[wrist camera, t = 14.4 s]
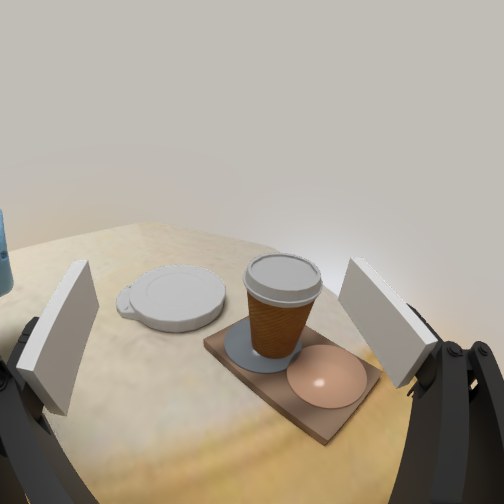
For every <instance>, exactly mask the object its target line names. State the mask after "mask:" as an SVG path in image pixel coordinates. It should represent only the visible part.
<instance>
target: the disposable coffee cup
mask: <svg viewBox="0 0 504 504" xmlns="http://www.w3.org/2000/svg"><path fill="white" fill-rule="evenodd" d="M243 282H244V285H245V286H246V289H247V296H248V307H249V318H250V319H249V320H250V331H251V343H252V347H253V348H254V350H255V351H256V352H257V353H258V354H260V355H262V356H264V357H267V358H271V359H280V358H284V357H287V356H289V355H290V354H292V352H293V351H294V350H295V347H296V345H297V343H298V340H299V338H300V336H301V333H302V331H303V329H304V326H305V324H306V321H307V319H308V316H309V314H310V311H311V309H312V306H313V304H314V301H315V299H316V298H317V296H318V295H319V294H320V293H321V291H322V288H323V282H322V280H321V273H320V270H319V269H318V267H317V266H316V265H315V264H313V263H312V262H310V261H309V260H307V259H305V258H302V257H299V256H296V255H292V254H285V253H270V254H264V255H260V256H258V257H256V258H254V259H253V260H251V261H250V263H249V265H248V267H247V269H246V270H245V272H244V274H243Z"/></svg>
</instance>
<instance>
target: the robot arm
mask: <svg viewBox="0 0 504 504" xmlns="http://www.w3.org/2000/svg"><path fill="white" fill-rule="evenodd" d="M13 284H14V281H13V276H12V271H11V267H10V262H9V256H8V251H7V245H6V239H5V233H4V224H3V215H2V210H1V209H0V297H1V296H3V295H5V294H7V293H9V292H10V291H11V290H12V288H13ZM338 301H339V302H340V304H341V305H342V306H343V308H344V309H345V311H346V312H347V314H348V315H349V317H350V318H351V320H352V321H353V323H354V324H355V326H356V327H357V329H358V330H359V332H360V333H361V335H362V336H363V338H364V339H365V341H366V342H367V344H368V345H369V347H370V348H371V350H372V351H373V353H374V355H375V356H376V358H377V359H378V361H379V362H380V364H381V365H382V367H383V369H384V370H385V372H386V373H387V375H388V377H389V378H390V380H391V381H392V383H393V385H394V386H395V388H396V389H397V388H400V387H402V386H405V385H408V384H409V383H410V381H411V380H412V379H413V377H414V376H416V378H417V379H418V380H417V382H416V383H415V384H414V385H413V387H412V388H411V389H410V391H409V392H408V394H407V396H409V395H410V394H411V393H412V392H413V391H414V394H413V396H412V398H413V402H412V409H411V415H410V421H409V427H408V432H407V437H406V442H405V447H404V451H403V455H402V459H401V463H400V467H399V471H398V474H397V478H396V481H395V484H394V487H393V491H392V494H391V497H390V500H389V502H388V504H504V380H503V377H502V374H501V372H500V369H499V367H498V364H497V362H496V360H495V357H494V355H493V353H492V351H491V349H490V347H489V346H488V345H487V344H485V343H483V342H481V341H476V342H475V343H474V344H473V346H472V347H471V349H469V350H463V349H462V348H461V347H460V346H459V345H458V344H456V343H454V342H451V341H446V342H444V341H443V340H442V339H441V338H440V337H439V336H438V334H437V333H436V332H435V331H434V330H433V329H432V327H431V326H430V325H429V324H428V323H426V321H425V319H424V318H423V317H421V315H420V314H419V313H418V312H417V311H416V309H414V308H413V307H411V306H410V305H408V304H407V303H405V302H404V301H403V300H402V299H401V298H400V297H399V296H398V295H397V293H396V292H395V291H394V290H393V289H392V288H391V287H390V286H389V285H388V284H387V283H386V282H385V281H384V280H383V279H382V277H381V276H380V275H379V274H378V273H377V272H376V271H375V270H374V269H373V268H372V267H371V266H370V265H369V264H368V263H367V262H366V261H365V260H364V259H363V258H362V257H361V258H350V261H349V264H348V268H347V271H346V275H345V278H344V281H343V285H342V288H341V291H340V294H339V297H338ZM98 309H99V303H98V300H97V296H96V292H95V288H94V284H93V280H92V276H91V272H90V267H89V263H88V260H74V262H73V263H72V265H71V266H70V268H69V269H68V271H67V273H66V274H65V276H64V277H63V279H62V280H61V282H60V284H59V285H58V287H57V288H56V290H55V292H54V293H53V295H52V297H51V298H50V300H49V302H48V304H47V305H46V307H45V309H44V311H43V313H42V314H41V316H40V317H34V318H33V319H32V320H31V321H30V322H28V323H27V324H26V326H25V328H24V330H23V332H22V335H21V336H20V338H19V340H18V343H17V344H16V346H15V348H14V350H13V352H12V354H11V356H10V358H9V360H8V363H7V365H6V364H5V363H4V361H3V360H2V358H1V357H0V504H28V502H27V499H26V496H27V497H28V499H29V501H30V503H31V504H99V503H98V501H97V500H96V499H95V497H94V496H93V495H92V493H91V492H90V491H89V489H88V488H87V487H86V485H85V484H84V482H83V481H82V480H81V478H80V477H79V475H78V474H77V472H76V471H75V469H74V468H73V466H72V464H71V463H70V461H69V460H68V458H67V456H66V455H65V453H64V451H63V449H62V448H61V446H60V444H59V442H58V441H57V439H56V437H55V435H54V433H53V431H52V429H51V427H50V425H49V423H48V421H47V419H46V417H45V415H44V414H43V413H42V410H43V406H45V407H46V408H47V409H48V410H49V412H50V413H53V414H57V415H62V416H67V413H68V408H69V404H70V399H71V395H72V391H73V387H74V383H75V380H76V376H77V372H78V369H79V365H80V362H81V359H82V355H83V352H84V349H85V346H86V343H87V340H88V337H89V334H90V331H91V328H92V325H93V322H94V320H95V317H96V314H97V311H98ZM475 379H477V382H478V384H477V385H476V386H475V388H474V389H472V388H471V386H470V385H471V384H472V383H473V382H474V380H475ZM24 492H25V493H24ZM25 494H26V496H25Z"/></svg>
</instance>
